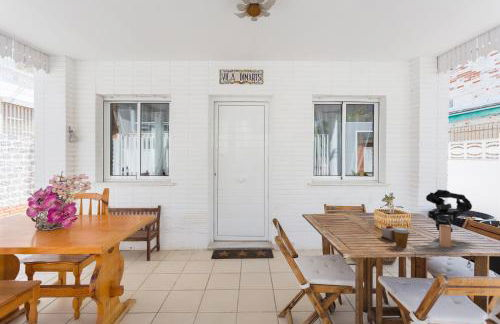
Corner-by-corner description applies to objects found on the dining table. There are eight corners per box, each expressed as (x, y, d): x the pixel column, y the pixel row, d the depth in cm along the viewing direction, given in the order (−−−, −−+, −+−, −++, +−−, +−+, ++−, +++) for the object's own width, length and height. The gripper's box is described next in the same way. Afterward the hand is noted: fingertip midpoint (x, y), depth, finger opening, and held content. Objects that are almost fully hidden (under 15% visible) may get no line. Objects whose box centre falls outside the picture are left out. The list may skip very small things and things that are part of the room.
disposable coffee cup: (412, 247, 198) (412, 229, 198) (401, 248, 195) (401, 230, 195) (401, 243, 207) (401, 226, 207) (390, 244, 204) (390, 227, 204)
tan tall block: (439, 244, 203) (439, 224, 203) (448, 245, 201) (449, 225, 201) (440, 246, 198) (441, 226, 198) (450, 247, 196) (450, 226, 196)
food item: (379, 236, 225) (379, 224, 225) (388, 236, 227) (388, 223, 227) (391, 241, 212) (391, 228, 212) (400, 241, 213) (400, 227, 213)
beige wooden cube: (449, 245, 202) (449, 238, 202) (455, 245, 201) (455, 239, 201) (450, 246, 200) (450, 240, 200) (456, 247, 198) (456, 240, 198)
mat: (440, 249, 192) (440, 249, 192) (423, 242, 209) (423, 241, 209) (472, 249, 194) (472, 248, 194) (452, 242, 211) (452, 241, 211)
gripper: (427, 199, 211) (433, 219, 201) (457, 199, 205) (465, 218, 195) (425, 208, 219) (430, 226, 209) (454, 207, 213) (461, 226, 203)
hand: (446, 224), depth 204 cm, fingers open, 9 cm apart
